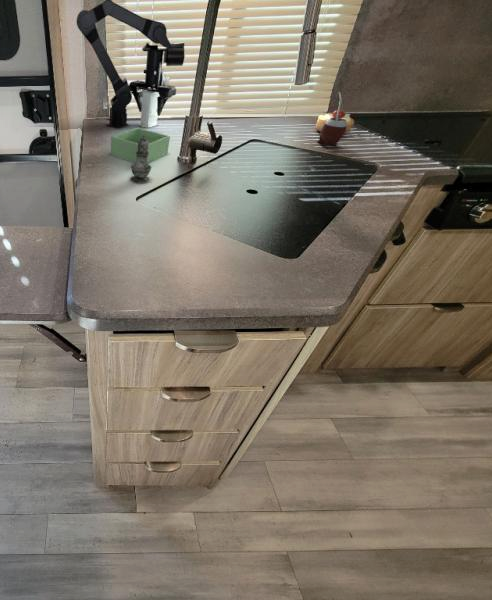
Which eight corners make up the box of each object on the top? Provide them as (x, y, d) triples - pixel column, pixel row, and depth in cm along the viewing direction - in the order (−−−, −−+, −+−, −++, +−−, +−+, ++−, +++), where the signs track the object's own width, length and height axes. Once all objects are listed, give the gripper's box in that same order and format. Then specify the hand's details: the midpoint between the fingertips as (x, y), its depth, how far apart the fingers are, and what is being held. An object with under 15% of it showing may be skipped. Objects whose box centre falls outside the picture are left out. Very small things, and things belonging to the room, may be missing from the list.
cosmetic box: (147, 128, 131) (151, 93, 123) (139, 125, 133) (142, 91, 125) (157, 125, 134) (161, 90, 126) (149, 122, 136) (152, 88, 128)
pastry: (311, 133, 125) (322, 107, 119) (315, 126, 132) (325, 100, 126) (347, 139, 120) (360, 111, 114) (349, 130, 128) (361, 104, 122)
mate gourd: (333, 149, 112) (356, 99, 102) (309, 143, 117) (330, 95, 106) (341, 144, 116) (365, 95, 106) (318, 139, 120) (339, 91, 110)
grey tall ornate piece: (126, 177, 95) (129, 133, 87) (143, 174, 97) (148, 130, 89) (135, 185, 91) (139, 139, 83) (154, 181, 93) (159, 136, 85)
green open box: (110, 154, 109) (110, 136, 105) (135, 144, 116) (137, 127, 112) (142, 165, 102) (144, 146, 98) (167, 154, 109) (170, 136, 106)
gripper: (187, 66, 120) (180, 113, 130) (147, 61, 129) (143, 106, 140) (170, 70, 114) (164, 119, 124) (129, 64, 123) (126, 111, 134)
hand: (149, 113), depth 131 cm, fingers open, 9 cm apart
